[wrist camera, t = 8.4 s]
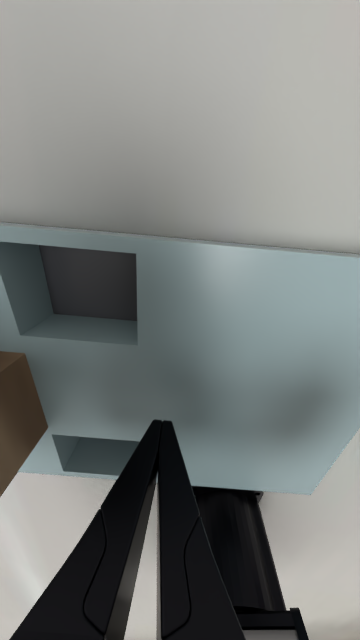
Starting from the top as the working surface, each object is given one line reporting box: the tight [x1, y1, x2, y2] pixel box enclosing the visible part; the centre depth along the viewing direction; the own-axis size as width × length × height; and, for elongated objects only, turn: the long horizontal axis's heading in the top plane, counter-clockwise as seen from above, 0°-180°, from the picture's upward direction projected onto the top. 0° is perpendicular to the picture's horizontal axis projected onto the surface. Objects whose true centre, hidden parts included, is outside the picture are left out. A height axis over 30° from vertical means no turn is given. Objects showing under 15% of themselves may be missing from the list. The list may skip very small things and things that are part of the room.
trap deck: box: [0, 222, 360, 495], centre depth 9 cm, size 22×15×6 cm, turn 85°
